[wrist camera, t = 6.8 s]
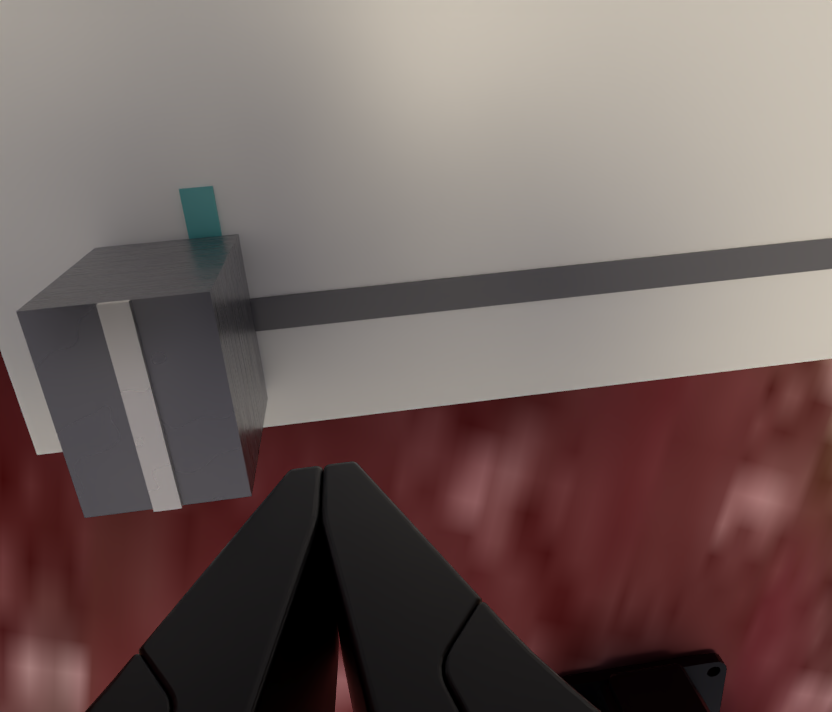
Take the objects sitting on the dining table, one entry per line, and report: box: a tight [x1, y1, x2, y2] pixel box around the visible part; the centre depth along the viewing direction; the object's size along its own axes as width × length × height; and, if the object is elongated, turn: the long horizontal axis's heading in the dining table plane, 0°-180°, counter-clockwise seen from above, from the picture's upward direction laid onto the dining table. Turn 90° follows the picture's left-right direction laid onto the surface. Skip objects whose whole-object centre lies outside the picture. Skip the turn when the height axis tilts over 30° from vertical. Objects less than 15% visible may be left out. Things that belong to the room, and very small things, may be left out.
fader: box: [16, 234, 268, 518], centre depth 13 cm, size 4×3×4 cm
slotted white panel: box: [0, 0, 832, 455], centre depth 14 cm, size 18×22×2 cm
